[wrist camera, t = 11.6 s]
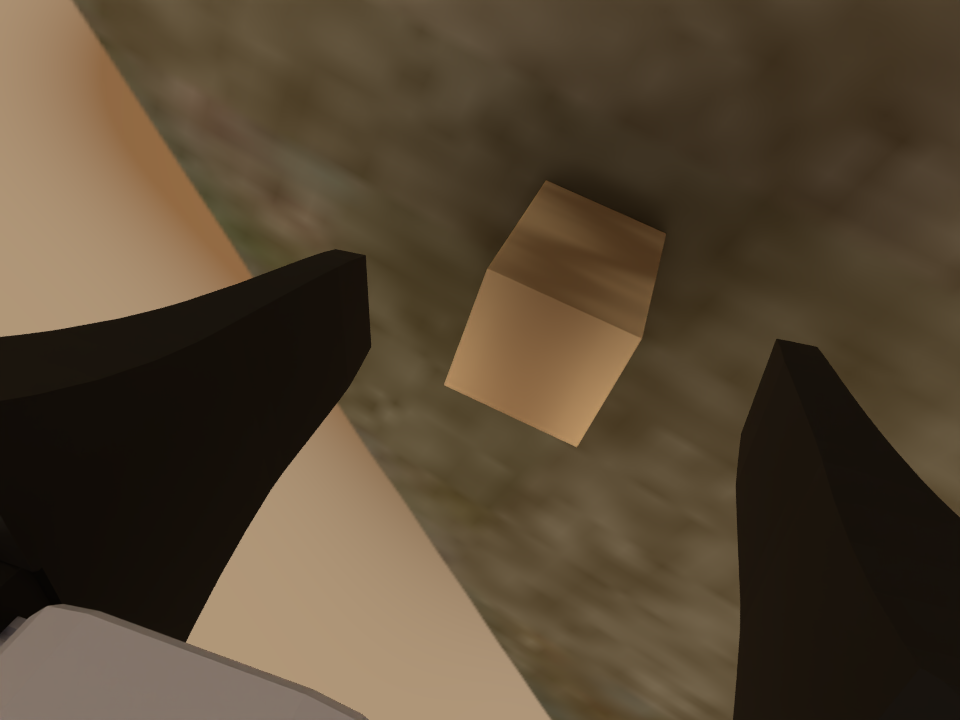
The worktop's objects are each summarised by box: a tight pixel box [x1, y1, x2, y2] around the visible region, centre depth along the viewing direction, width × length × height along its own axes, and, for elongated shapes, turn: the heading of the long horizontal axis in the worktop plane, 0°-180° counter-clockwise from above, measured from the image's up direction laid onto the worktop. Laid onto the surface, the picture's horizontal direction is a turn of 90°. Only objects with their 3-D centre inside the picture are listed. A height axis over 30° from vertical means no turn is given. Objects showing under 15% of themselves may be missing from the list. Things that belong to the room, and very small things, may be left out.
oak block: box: [444, 180, 666, 447], centre depth 20 cm, size 4×4×6 cm
